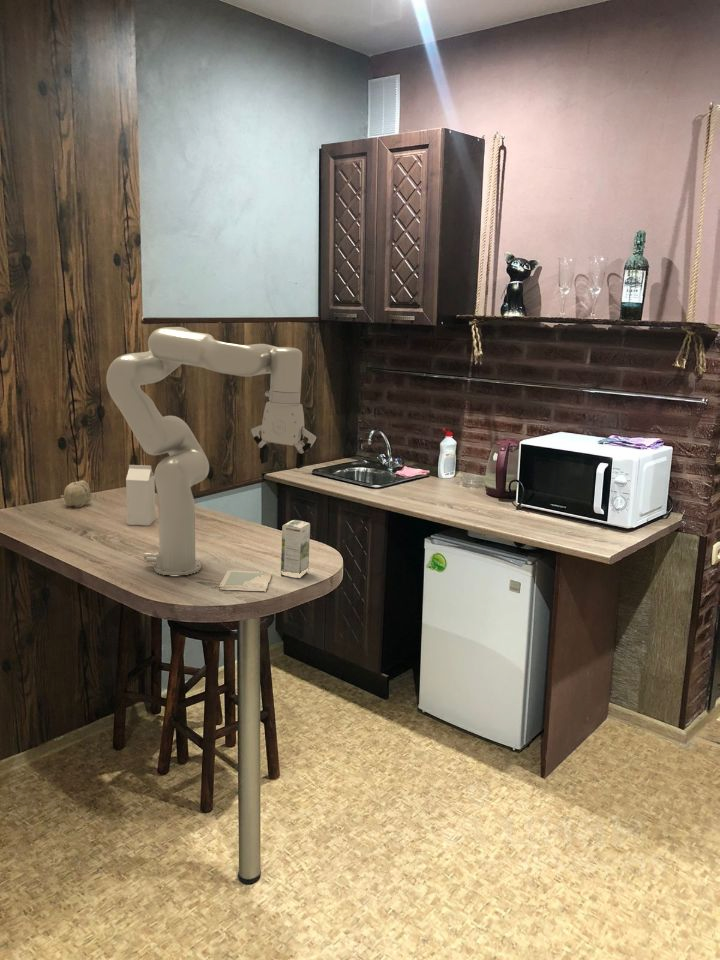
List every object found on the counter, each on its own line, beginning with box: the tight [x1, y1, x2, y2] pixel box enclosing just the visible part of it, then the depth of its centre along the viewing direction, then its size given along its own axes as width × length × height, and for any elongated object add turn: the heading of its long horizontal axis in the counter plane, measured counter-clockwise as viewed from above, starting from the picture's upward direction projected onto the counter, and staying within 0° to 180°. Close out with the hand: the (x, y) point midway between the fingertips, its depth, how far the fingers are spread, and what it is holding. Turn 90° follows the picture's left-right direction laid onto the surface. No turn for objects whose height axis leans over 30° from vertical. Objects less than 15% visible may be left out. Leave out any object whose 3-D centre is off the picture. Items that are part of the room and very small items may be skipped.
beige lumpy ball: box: [60, 480, 92, 508], centre depth 272 cm, size 9×8×10 cm
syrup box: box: [280, 519, 311, 574], centre depth 214 cm, size 6×6×14 cm
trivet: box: [218, 570, 265, 588], centre depth 208 cm, size 12×12×1 cm
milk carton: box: [125, 464, 156, 526], centre depth 255 cm, size 7×7×19 cm
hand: (281, 465), depth 201 cm, fingers open, 9 cm apart
